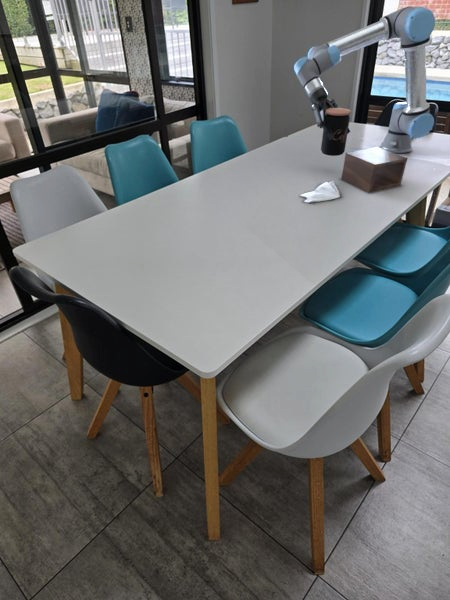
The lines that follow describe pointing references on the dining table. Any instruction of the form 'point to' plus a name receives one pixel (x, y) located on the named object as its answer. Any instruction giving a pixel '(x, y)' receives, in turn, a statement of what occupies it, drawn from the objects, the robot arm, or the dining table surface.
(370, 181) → the dark wooden box
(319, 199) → the cloth
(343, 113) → the coffee jar
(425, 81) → the robot arm
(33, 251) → the dining table surface
